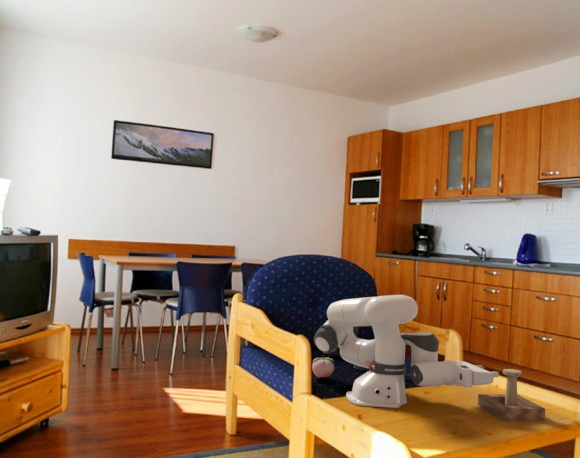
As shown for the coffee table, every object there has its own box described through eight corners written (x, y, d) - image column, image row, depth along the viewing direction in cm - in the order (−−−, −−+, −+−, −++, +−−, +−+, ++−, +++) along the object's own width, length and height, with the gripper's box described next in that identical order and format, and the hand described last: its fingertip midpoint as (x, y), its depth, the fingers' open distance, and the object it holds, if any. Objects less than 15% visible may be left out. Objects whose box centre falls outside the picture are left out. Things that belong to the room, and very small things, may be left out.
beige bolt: (522, 414, 181) (524, 372, 181) (507, 415, 179) (509, 372, 180) (513, 410, 186) (515, 368, 186) (498, 410, 184) (500, 369, 184)
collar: (502, 420, 173) (502, 408, 174) (477, 405, 189) (478, 394, 189) (544, 420, 176) (545, 408, 176) (516, 405, 192) (517, 394, 192)
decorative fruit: (328, 376, 219) (329, 352, 219) (335, 381, 211) (337, 357, 211) (307, 376, 216) (309, 353, 216) (314, 382, 208) (316, 357, 208)
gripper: (441, 374, 195) (475, 373, 197) (470, 388, 174) (506, 386, 177) (441, 358, 195) (474, 356, 197) (470, 370, 175) (506, 368, 177)
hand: (490, 371), depth 187 cm, fingers open, 8 cm apart
